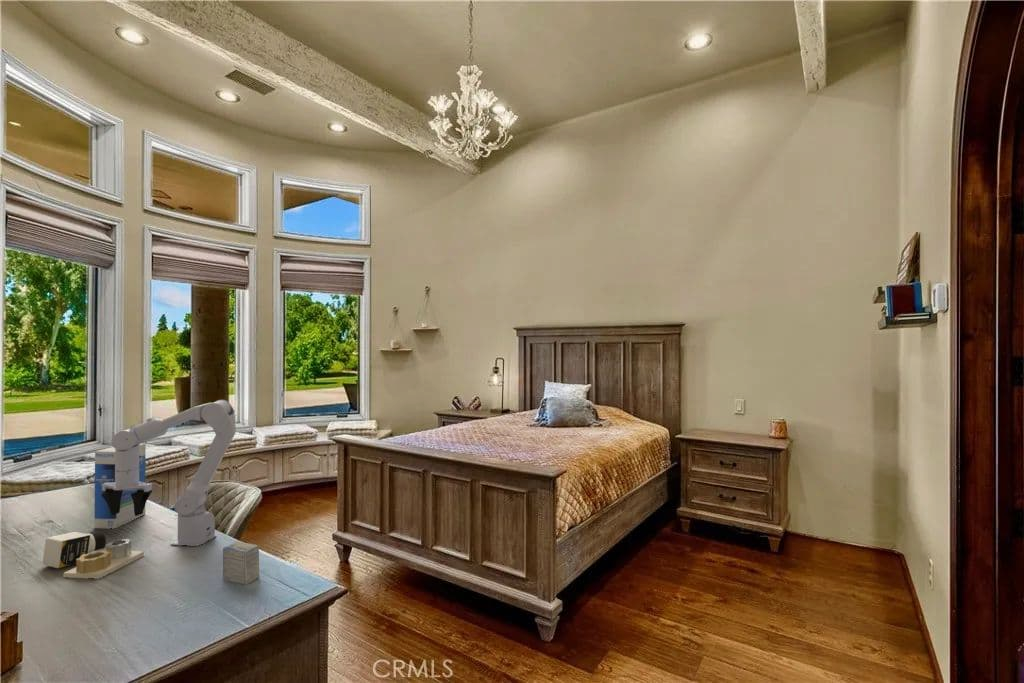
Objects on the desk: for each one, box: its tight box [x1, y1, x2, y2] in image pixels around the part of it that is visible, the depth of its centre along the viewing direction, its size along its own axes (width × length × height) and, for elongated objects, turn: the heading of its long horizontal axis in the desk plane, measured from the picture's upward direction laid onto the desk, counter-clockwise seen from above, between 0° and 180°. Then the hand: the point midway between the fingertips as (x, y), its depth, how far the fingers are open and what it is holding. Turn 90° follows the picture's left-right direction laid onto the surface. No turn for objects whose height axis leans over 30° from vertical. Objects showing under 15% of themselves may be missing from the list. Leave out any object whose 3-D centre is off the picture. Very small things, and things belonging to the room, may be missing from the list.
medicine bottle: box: [41, 530, 107, 569], centre depth 137 cm, size 7×7×12 cm
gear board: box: [63, 538, 145, 580], centre depth 134 cm, size 10×14×6 cm
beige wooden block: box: [222, 541, 260, 586], centre depth 126 cm, size 8×4×9 cm, turn 71°
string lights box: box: [93, 442, 147, 530], centre depth 167 cm, size 13×8×26 cm, turn 178°
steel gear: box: [105, 538, 132, 560], centre depth 137 cm, size 6×6×4 cm
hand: (127, 514), depth 146 cm, fingers open, 7 cm apart
